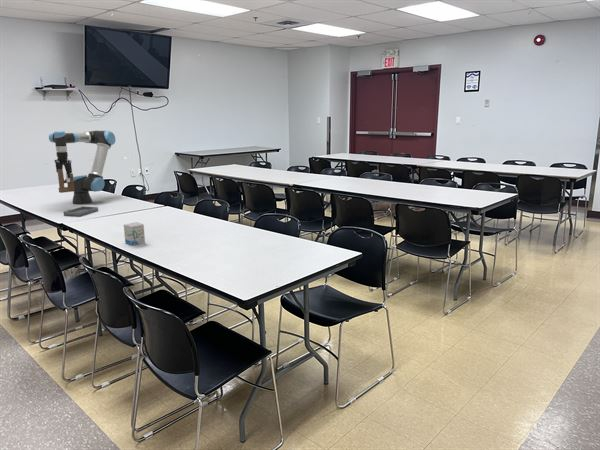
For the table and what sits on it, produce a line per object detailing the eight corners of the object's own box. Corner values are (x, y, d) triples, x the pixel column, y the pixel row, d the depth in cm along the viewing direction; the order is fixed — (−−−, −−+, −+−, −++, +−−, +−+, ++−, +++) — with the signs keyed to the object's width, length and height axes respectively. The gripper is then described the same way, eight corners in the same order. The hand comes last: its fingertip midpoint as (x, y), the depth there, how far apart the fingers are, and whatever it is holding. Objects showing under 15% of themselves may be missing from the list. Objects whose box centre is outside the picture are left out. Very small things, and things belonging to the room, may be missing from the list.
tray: (82, 210, 363) (82, 206, 363) (98, 210, 360) (98, 207, 360) (64, 215, 344) (63, 211, 343) (80, 216, 340) (79, 212, 340)
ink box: (132, 245, 268) (130, 226, 265) (124, 243, 273) (123, 224, 270) (145, 242, 274) (144, 223, 271) (138, 240, 279) (136, 221, 276)
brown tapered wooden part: (74, 191, 362) (72, 168, 358) (61, 193, 354) (58, 169, 350) (72, 190, 364) (70, 168, 360) (58, 192, 356) (56, 169, 352)
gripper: (48, 151, 349) (52, 182, 355) (68, 152, 345) (71, 183, 351) (55, 151, 357) (59, 180, 362) (75, 151, 353) (78, 181, 358)
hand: (65, 181), depth 357 cm, fingers closed on brown tapered wooden part, 5 cm apart
